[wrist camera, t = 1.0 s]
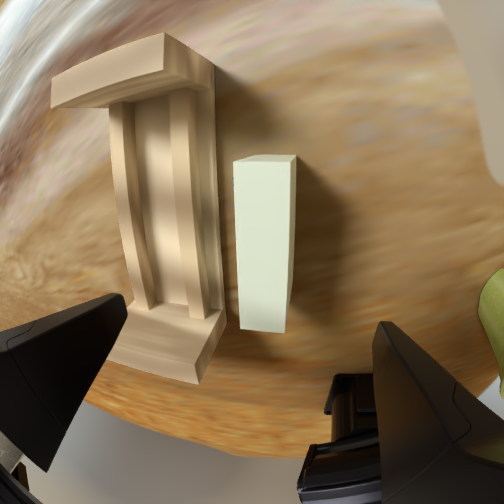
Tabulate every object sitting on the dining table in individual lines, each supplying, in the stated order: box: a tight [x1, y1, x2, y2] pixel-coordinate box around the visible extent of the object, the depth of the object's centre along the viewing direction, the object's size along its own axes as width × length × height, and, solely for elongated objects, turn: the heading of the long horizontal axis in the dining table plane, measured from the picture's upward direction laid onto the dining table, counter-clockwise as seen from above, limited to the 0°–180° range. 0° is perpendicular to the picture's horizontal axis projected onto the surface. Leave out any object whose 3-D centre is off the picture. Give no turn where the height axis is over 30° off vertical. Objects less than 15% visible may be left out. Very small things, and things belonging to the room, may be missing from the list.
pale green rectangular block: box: [232, 155, 296, 333], centre depth 16 cm, size 9×3×6 cm, turn 1°
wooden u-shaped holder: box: [51, 32, 227, 385], centre depth 17 cm, size 20×8×7 cm, turn 1°
